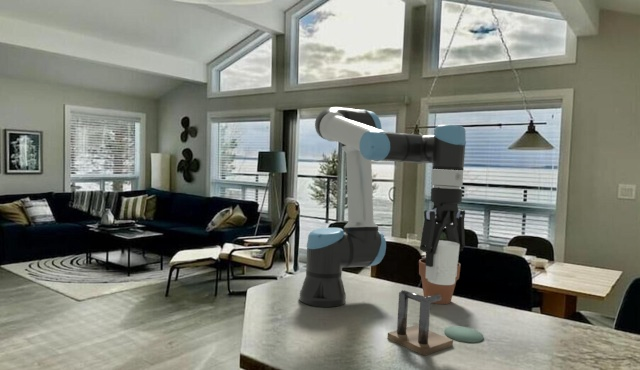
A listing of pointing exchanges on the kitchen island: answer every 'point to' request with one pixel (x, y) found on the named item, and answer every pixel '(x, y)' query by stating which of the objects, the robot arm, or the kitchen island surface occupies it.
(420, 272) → the potted plant
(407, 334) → the brown wooden board
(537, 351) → the kitchen island surface
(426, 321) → the bent wire
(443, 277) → the white cup
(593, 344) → the kitchen island surface
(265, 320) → the kitchen island surface
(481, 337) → the end coaster
